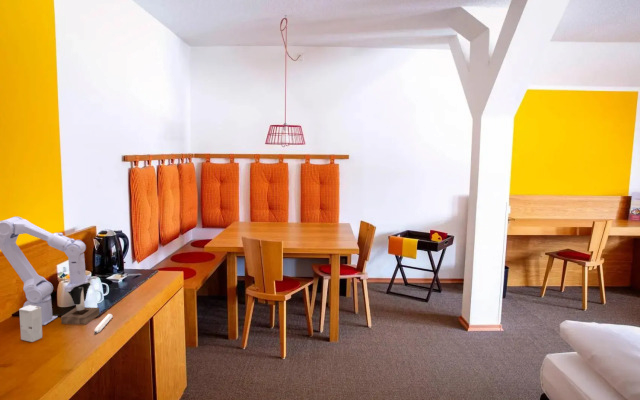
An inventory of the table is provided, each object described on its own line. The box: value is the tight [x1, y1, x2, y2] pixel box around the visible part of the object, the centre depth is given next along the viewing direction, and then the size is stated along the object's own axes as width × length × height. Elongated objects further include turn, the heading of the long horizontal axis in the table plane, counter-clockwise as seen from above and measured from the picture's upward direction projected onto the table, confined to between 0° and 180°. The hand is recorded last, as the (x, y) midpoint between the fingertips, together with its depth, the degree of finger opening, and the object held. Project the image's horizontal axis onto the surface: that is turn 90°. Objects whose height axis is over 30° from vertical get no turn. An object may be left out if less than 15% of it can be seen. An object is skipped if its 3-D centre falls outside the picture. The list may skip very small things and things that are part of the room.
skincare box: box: [18, 305, 43, 343], centre depth 159 cm, size 6×4×12 cm
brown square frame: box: [60, 306, 100, 326], centre depth 177 cm, size 10×10×3 cm
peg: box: [75, 287, 86, 311], centre depth 176 cm, size 3×3×9 cm
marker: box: [93, 313, 114, 334], centre depth 171 cm, size 3×2×16 cm
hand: (79, 302), depth 176 cm, fingers closed on peg, 3 cm apart
